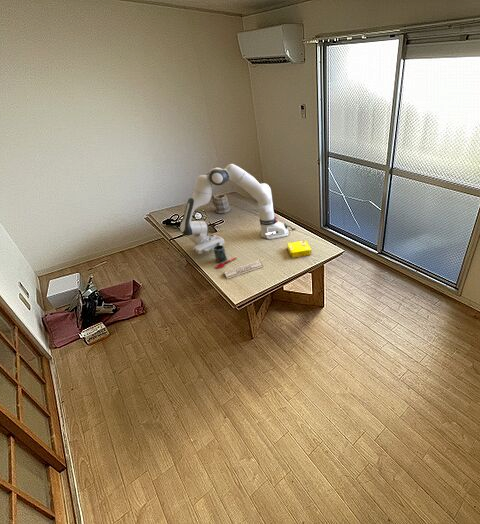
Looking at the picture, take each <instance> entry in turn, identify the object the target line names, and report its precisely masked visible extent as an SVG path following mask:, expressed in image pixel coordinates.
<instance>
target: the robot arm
mask: <svg viewBox="0 0 480 524" xmlns="http://www.w3.org/2000/svg"><path fill="white" fill-rule="evenodd" d="M228 181H231V182H233V183H234V184H236V185H237V186H238V187H240V188H241V189H242V190H244V191H246V192H247V193H248V194H249V195H250V196H251V197H252V198H253V199H254V200H255V201H256V202H257V208H258V214H259V224H260V237H262V238H264V239H267V240H275V239H279V238H286V237H288V236H289V234H290V231H289V229H288V227H289V228H290V229H291V230H292V231H294V230H296V228H293V227H292V226H291V225H289V224H288V225H287V223H286V222H285V223H283V222H281V221H279V220H278V217H277V216H276V215H275V211H274V202H273V193H272V188H271V187H270V186H269V184H268V183H265V182H261V183H260V182H259V181H258V180H257V179H256V178H255V176H253V175H252V174H250V173H249V172H247V171H246V170H244V169H243V168H241V167H240V166H238V165H236V164H234V163H229V164H228V165H226V166H225V168H222V167H220V166H214V167H212V168H211V169H210V170H209V171H208V173H207V174H199V175H197V177H196V178H195V182H194V187H193V188H194V189H193V194H192V195H191V197H190V198H188V199H187V202H186V205H185V209H184V213H183V216H182V220H181V222H180V224H179V230H180V232H181V233H182V235H184V236H188V238H189V240H190V241H191V243H193V244H194V245H195V246H193V247H192V249H191V250H192V251H194V252H195V253H196V254H198V255H202V254H204V253H207V254H210V253H211V250H213V248H214V247H215V246H217V245H224V244H225V239H224V238H222V237H221V236H219V235H216V234H209V232H210V226H209V225H208V223H207V222H206V221H205V220H192V219H193V216H194V212H195V210H196V209H198V208H200V207H203V206H205V205H207V204H209V203H210V202H211V200H212V194H213V187H214V186H222V185H224V184H226V183H227V182H228ZM208 234H209V235H208Z"/></svg>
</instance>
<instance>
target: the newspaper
mask: <svg viewBox="0 0 480 524" xmlns="http://www.w3.org/2000/svg"><path fill="white" fill-rule="evenodd" d="M261 268H263V265H262V263H261V262H260V260H255V261H253V262H250V263H248V264H244V265H241V266H238V267H234V268H231V269H228V270H226V271H223V275H224V276H225V277H226V279H227V280H228V279H232V278H234V277H237V276H240V275H243V274H246V273H249V272H252V271H254V270H257V269H261Z"/></svg>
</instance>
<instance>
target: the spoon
mask: <svg viewBox="0 0 480 524" xmlns="http://www.w3.org/2000/svg"><path fill="white" fill-rule="evenodd" d="M236 259H237V258H236V257H233V258H231V259H229V260H226V261H225V262H222V263H218V264H217V265H216V266H215V268H216V269H221V268H224V267H225V265H227V264H228V263H231V262H232V261H235V260H236Z"/></svg>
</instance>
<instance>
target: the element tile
mask: <svg viewBox="0 0 480 524" xmlns="http://www.w3.org/2000/svg"><path fill="white" fill-rule="evenodd" d="M286 249H287V252H288V254H289V256H290V258H291V259H295V258H301V257H306V256H310V255H312V248H311V246H310V245H309V242H308V241H307V240H305V239H302V240H297V241H291V242H288V243H287V244H286Z"/></svg>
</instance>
